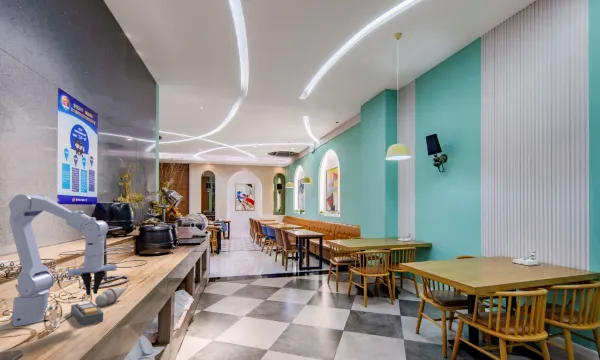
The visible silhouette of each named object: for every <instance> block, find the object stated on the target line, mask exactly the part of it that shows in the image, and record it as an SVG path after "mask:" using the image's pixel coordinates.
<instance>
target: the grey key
mask: <svg viewBox="0 0 600 360" xmlns="http://www.w3.org/2000/svg"><path fill="white" fill-rule="evenodd" d="M89 308H94V306H93V305H92V304H88V305H83V306H80V310H81V311H83V310H84V309H89Z"/></svg>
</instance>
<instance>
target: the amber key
mask: <svg viewBox="0 0 600 360" xmlns="http://www.w3.org/2000/svg"><path fill="white" fill-rule="evenodd" d="M83 313H84V315H90V314H95V313H98V310H97V309H96V308H95V307H94V308H89V309H84V310H83Z"/></svg>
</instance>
